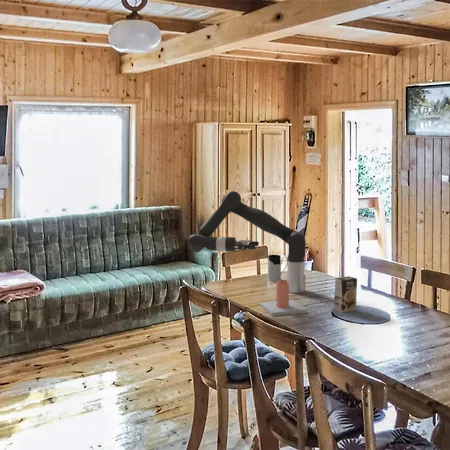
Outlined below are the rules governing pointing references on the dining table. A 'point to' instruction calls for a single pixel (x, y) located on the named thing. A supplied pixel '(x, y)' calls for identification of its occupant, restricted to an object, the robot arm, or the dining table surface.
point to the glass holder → (275, 268)
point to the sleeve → (282, 294)
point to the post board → (292, 309)
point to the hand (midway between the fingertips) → (257, 245)
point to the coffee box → (345, 294)
